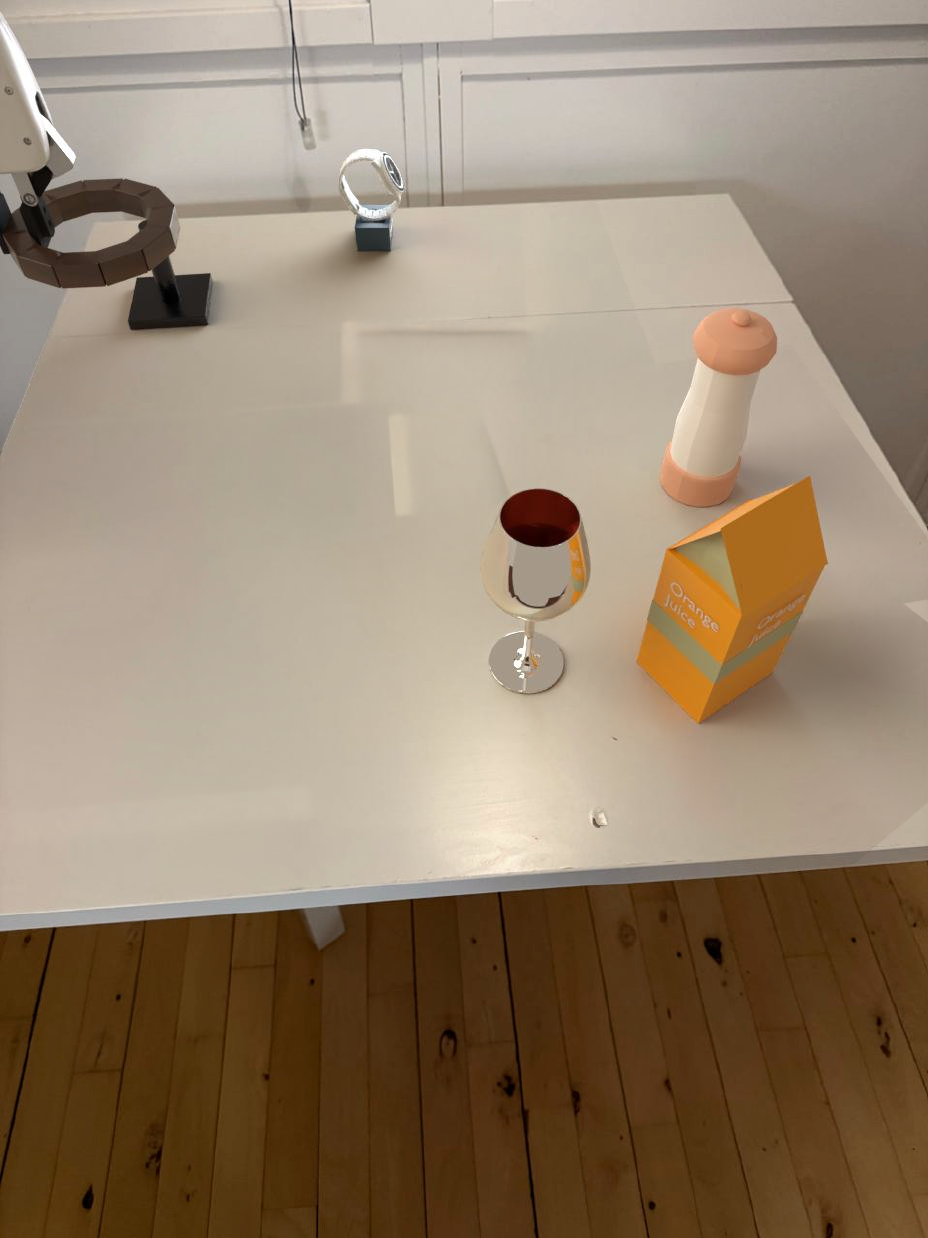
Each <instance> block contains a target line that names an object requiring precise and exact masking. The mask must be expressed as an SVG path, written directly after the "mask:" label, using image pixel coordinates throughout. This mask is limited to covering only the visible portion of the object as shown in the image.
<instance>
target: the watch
mask: <svg viewBox="0 0 928 1238" xmlns="http://www.w3.org/2000/svg"><path fill="white" fill-rule="evenodd" d="M364 161H367V162H370V165H371V166H372V167H373V168H374V170H375V172H376V175H377V178H378V179H379V182H380V183H381V185H382V186H383V189H385V191H386V192H387V193H388V194H390V195H391V196H392V197H394V200H393V202H391V204H360V200H358V199H357V197H356V196H355V194H354V193H353V191H352V190H351V188H350V186H349V184H348V181H347V180H346V176H345V175H344V172H346V170H347V169H348V168H349V167H351V166H352V165H353V164H356V163H359V162H364ZM404 183H405V182H404V180H403V176H402V174H401V172H400V169H399V168H398V165H397V164H396V162H395V160H393V158H392V156H391V155H389V153H388V152H385V151H381V150H378V149H374V148H361V149H357V150H355V151H353V152H351V153H350V154H349V155H348V156H347V157H346V158H345V159H344V160H343V162H342V164H341V166H340V170H339V176H338V191H339V194H340V196H341V198H342V200H343V202H344V203H345V205H346V206H347V209H349V210H350V212H351V213H352V214H353V215H354V216H356V217H355V224H354V234H355V244H356V251H357V252H391V251H392V243H393V233H394V220H393V219H394V218H393V215H394V214H395V212H396V211H397V210H398V208H399V207H400V204H401V199H402V193H403V192H404V191H405V184H404Z"/></svg>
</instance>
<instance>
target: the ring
mask: <svg viewBox="0 0 928 1238" xmlns="http://www.w3.org/2000/svg"><path fill="white" fill-rule="evenodd" d="M42 195H43V197H44V200H45V202H46V205H47V208H48V210H49V213H50V215H51V218H52V221H53V223H54V227H55V228H57V227H58V226H60V225H61V224H62V223H65V222H68V221H71V220H74V219H78V218H81V217H84V216H87V215H90V214H98V213H125V214H128V215H132V216H136V217H139V218H142V219H144V220H147V221H148V222H147V226H146V227H144V228H143V229H142V230H140V231H139V230H138V231H137V232H136V233H135V234H134V235H133V236H132V237H130V238H128V239H127V240H126V241H121V242H120V243H116V244H113V245H110V246H107V247H104V248H101V249H98V250H92V251H91V250H90V251H69V252H68V251H67V252H66V251H65V252H63V251H59V250H57V249H52V248H50V247H48V248H46V247H43V246H40V245H38V244H37V242H36V241H35V240H34V238H33V237H32V236H31V234H30V233H29V232H28V230H27V228H26V225H25V223H24V220H23V218H22V216H21V213H20V206H19V207H18V208H16V209H15V210H13V212H11V216H10V219H9V221H8V224H7V226H6V228H5V231H4V233H3V238H4V241H5V243H6V245H7V247H8V250H9V252H10V254H9V255H10V256H11V259H12V260H13V262H14V263H15V264H16V266H17V268H18V269H19V270H20V272H21V273H22V274H23V276H24V277H25V278H26V279H29V280H31V281H35V282H38V283H40V284H41V283H42V284H44V285H48V286H52V287H54V288H57V289H83V288H85V289H86V288H105V287H106V286H107V287H110V286H113V285H116V284H119V283H122V282H125V281H127V280H130V279H133V278H137V277H140V276H142V275H145V274H148V273H149V272H152V271H151V270H152V269H153V268H155V267H156V266H157V265H158V264H159V263H161V262H162V261H163V260H164V259H166V258H167V257H168V256H169V257H170V255H172V254H173V253H174V252H175V251H176V250H177V247H178V243H179V242H178V241H179V237H180V231H181V224H180V220H179V217H178V213H177V209H176V205H175V204H174V203H173V202H172V200H171V199H170V198H169V197H168V196H167V195H166V194H165V193H164V192H163V191H162V190H161V189H160V188H159V187H157V186H155V185H151V184H147V183H143V182H140V181H136V180H133V179H129V178H121V177H120V178H99V179H83V180H77V181H73V182H70V183H68V184H64V185H61V186H57V187H54V188H50V189H46V190H45V191H44V193H43V194H42Z"/></svg>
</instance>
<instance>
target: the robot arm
mask: <svg viewBox="0 0 928 1238" xmlns="http://www.w3.org/2000/svg"><path fill="white" fill-rule="evenodd" d="M44 97H45V96H44V95H43V93H42V90H41V88H40V85H39V84H38V81H37V79H36V76H35V74H34V72H33V70H32V68H31V66H30V63H29V61H28V58H27V56H26V55H25V53H24V51H23V49H22V46H21V45H20V43H19V41H18V39H17V37H16V35H15V34H14V32H13V30H12V28H11V26H10V25H9V23H8V21H7V19H6V18H5V16H4V14H3V13H2V11H1V10H0V175H11V177H12V179H13V182H14V184H15V186H16V189H17V191H18V193H19V198H20V200H21V203H20V206H19V207H20V213H21V216H22V218H23V220H24V223H25V225H26V228H27V230H28V232H29V233H30V234H31V236H32V237H33V238H34V240H35V241H36V242H37V244H38V245H40V246H43V247H46V248H49V246H50V243H51V241H52V238H54V236H55V234H56V227H54V223H53V221H52V218H51V215H50V213H49V210H48V208H47V205H46V202H45V200H44V197H43V195H42V194H43V193H44V191H46V190H47V188H48V186H49V185H50V183H51V181H52V180H54V179H56V178H59V177H61V176H62V175H64V174H66V173H68V172H70V171H71V170H73V169H74V166H75V163H76V160H77V156H76V155H75V153H74V151H73V150H72V149H71V148H70V147H69V145H68V144H67V143H66V141H65V140H64V139H63V137H61V135H60V134H59V133H58V131H57V130H56V127H55V124H54V121H53V118H52V115H51V112H50V111H49V107H48V104H47V103H46V102H47V101H46V100H45V98H44ZM11 214H12V211H11V209H10V206H9V204H8V202H7V199H6V197H5V194H4V193H2V191H0V250H1V252H2V254H3V255H11V254H10V252H9V250H8V247H7V245H6V243H5V241H4V238H3V233H4V231H5V228H6V226H7V224H8V221H9V219H10V216H11Z"/></svg>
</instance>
